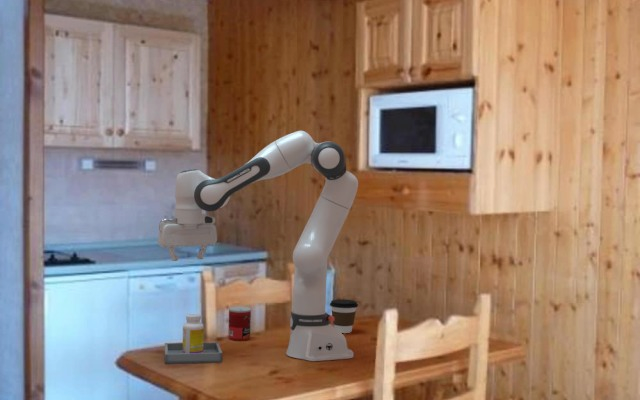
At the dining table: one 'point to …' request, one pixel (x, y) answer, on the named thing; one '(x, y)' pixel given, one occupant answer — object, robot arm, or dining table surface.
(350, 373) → the dining table surface
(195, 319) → the supplement bottle
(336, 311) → the coffee cup
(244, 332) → the canned food
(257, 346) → the dining table surface
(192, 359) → the tray
